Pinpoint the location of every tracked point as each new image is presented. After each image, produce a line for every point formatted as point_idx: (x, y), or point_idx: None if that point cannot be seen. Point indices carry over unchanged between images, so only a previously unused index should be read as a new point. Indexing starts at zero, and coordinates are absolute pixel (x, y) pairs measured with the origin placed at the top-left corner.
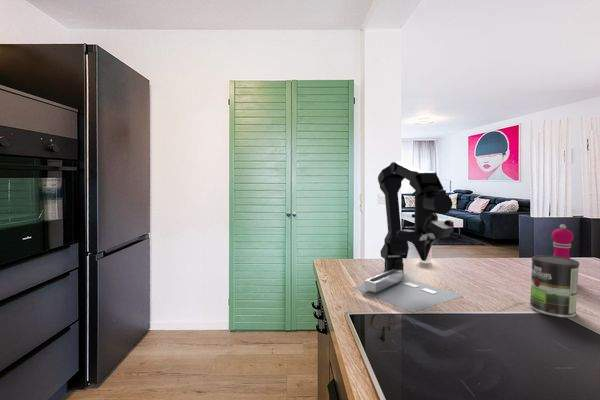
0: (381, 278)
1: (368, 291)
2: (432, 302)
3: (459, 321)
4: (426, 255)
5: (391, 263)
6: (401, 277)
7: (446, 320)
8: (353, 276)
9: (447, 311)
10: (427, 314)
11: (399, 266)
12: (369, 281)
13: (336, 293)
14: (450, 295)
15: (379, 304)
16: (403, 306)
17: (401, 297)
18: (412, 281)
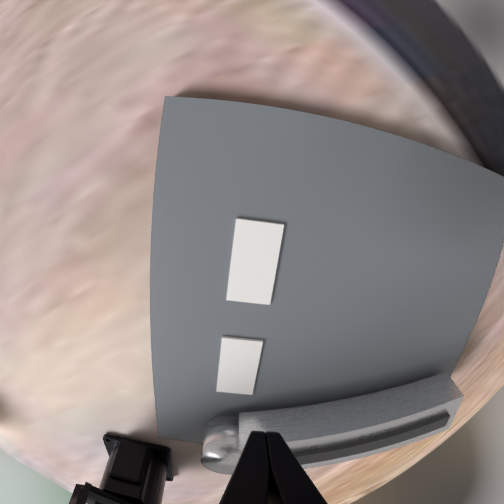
0: (400, 427)
1: None
2: (401, 165)
3: (443, 31)
4: (265, 472)
5: (156, 494)
6: (229, 425)
7: (468, 70)
8: None
9: (400, 87)
10: (473, 143)
11: (136, 471)
12: (454, 415)
13: None
14: (222, 145)
15: (480, 313)
16: (496, 234)
17: (427, 297)
18: (179, 387)
